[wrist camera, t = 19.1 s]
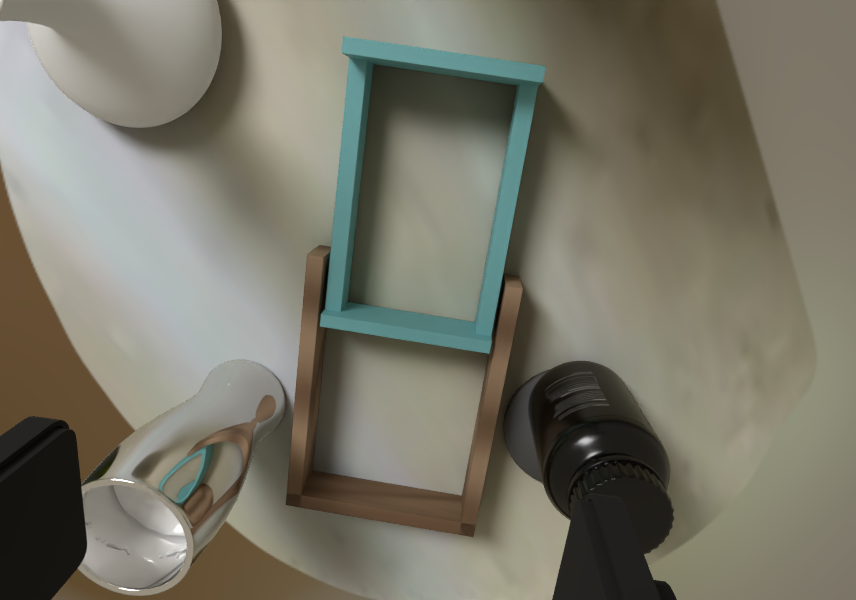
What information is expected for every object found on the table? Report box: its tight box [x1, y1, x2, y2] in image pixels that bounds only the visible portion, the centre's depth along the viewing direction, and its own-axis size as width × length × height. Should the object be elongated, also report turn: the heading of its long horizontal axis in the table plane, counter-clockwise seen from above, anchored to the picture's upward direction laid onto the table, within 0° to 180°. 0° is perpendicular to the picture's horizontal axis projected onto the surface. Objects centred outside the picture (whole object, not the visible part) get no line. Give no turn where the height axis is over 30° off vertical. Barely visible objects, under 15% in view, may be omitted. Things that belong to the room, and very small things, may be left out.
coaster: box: [504, 369, 551, 482], centre depth 40 cm, size 9×9×1 cm
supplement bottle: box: [528, 361, 674, 554], centre depth 33 cm, size 7×7×12 cm
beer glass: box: [78, 360, 286, 596], centre depth 34 cm, size 7×7×15 cm
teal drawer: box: [320, 36, 546, 354], centre depth 34 cm, size 16×11×4 cm, turn 172°
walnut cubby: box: [286, 245, 523, 537], centre depth 39 cm, size 18×13×3 cm
